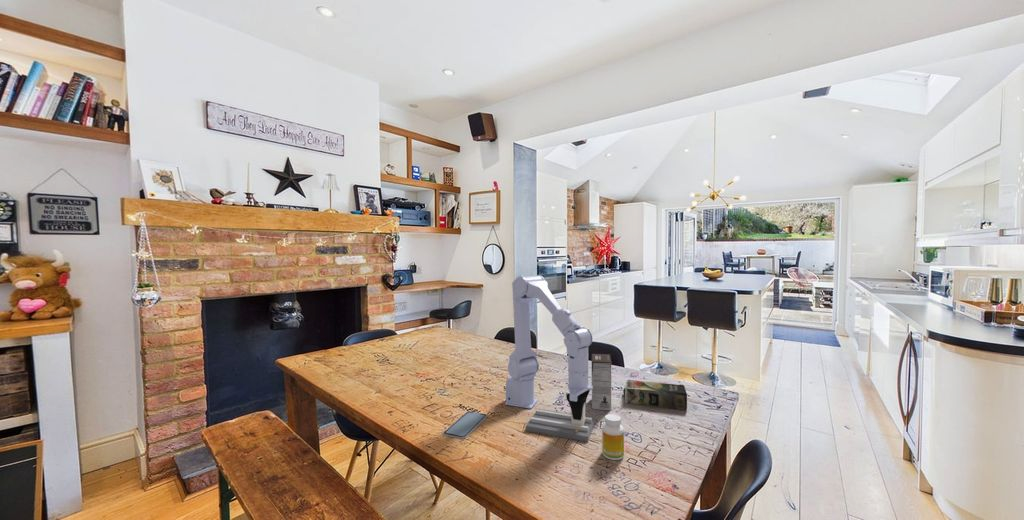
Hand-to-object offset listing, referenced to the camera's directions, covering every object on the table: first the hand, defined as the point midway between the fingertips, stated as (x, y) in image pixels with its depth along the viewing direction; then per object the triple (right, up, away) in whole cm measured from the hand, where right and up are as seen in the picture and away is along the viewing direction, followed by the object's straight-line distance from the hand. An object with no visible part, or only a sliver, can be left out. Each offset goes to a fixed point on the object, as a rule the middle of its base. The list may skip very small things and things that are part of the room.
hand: (578, 416), depth 107 cm
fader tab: (0, -2, 0) cm, 2 cm away
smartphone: (-33, -5, +4) cm, 34 cm away
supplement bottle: (+6, -4, -13) cm, 15 cm away
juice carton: (+30, -4, +19) cm, 36 cm away
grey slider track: (-5, -4, +2) cm, 6 cm away
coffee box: (+11, -4, +17) cm, 21 cm away
